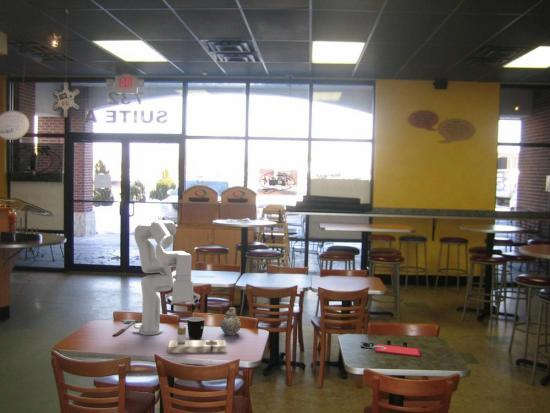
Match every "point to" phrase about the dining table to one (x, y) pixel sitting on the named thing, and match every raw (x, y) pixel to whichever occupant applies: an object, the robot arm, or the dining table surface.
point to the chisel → (126, 326)
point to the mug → (195, 327)
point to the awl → (181, 335)
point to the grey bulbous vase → (230, 322)
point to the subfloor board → (197, 346)
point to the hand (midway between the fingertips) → (182, 312)
